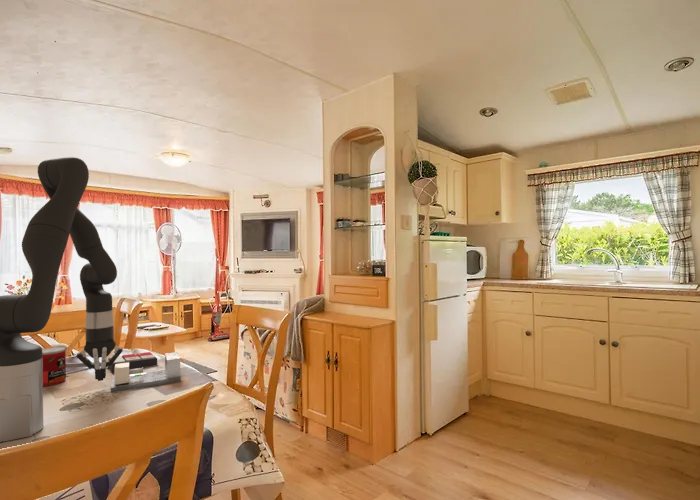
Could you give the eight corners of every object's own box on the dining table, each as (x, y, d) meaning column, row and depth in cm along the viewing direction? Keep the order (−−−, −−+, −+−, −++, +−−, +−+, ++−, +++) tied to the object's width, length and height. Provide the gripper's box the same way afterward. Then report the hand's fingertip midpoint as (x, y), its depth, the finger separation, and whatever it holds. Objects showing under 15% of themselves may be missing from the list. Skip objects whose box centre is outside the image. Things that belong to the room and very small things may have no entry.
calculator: (157, 356, 152) (112, 361, 142) (157, 367, 151) (112, 373, 142) (151, 351, 160) (108, 355, 151) (150, 361, 160) (107, 367, 151)
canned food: (51, 386, 128) (50, 353, 128) (31, 385, 130) (30, 352, 130) (72, 379, 136) (71, 347, 136) (52, 378, 137) (52, 346, 137)
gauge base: (180, 381, 131) (180, 359, 131) (110, 392, 121) (110, 368, 121) (177, 372, 142) (177, 351, 142) (112, 382, 132) (112, 359, 132)
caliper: (40, 378, 138) (40, 360, 138) (40, 378, 139) (39, 360, 139) (106, 365, 153) (106, 349, 153) (105, 365, 154) (105, 348, 154)
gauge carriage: (143, 380, 127) (143, 364, 127) (114, 384, 124) (114, 368, 124) (142, 372, 136) (142, 357, 136) (115, 376, 132) (115, 361, 132)
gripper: (72, 329, 118) (73, 387, 118) (123, 325, 125) (124, 379, 124) (75, 325, 125) (76, 380, 125) (123, 321, 131) (124, 373, 131)
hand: (100, 380), depth 125 cm, fingers closed
